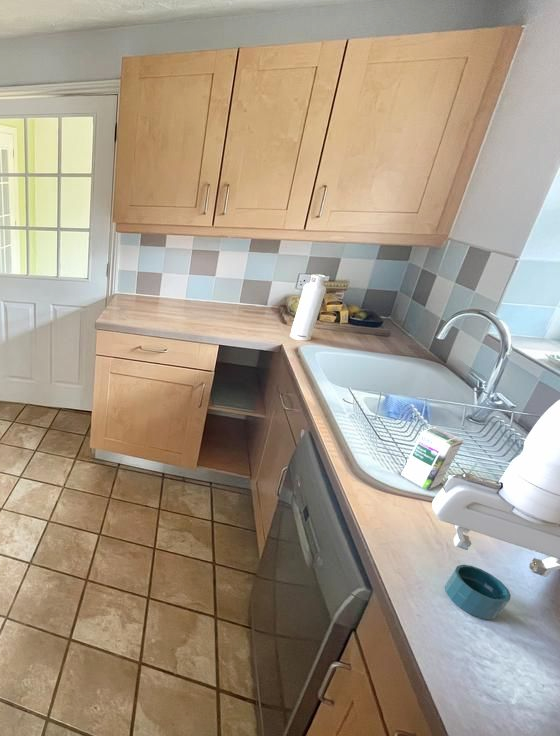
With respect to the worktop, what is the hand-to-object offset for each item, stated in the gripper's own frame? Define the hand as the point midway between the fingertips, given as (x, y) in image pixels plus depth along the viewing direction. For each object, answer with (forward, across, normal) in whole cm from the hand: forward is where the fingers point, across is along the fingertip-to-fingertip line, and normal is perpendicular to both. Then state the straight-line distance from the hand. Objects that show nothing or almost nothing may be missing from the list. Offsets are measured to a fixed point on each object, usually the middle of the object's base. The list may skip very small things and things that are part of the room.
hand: (497, 558), depth 68 cm
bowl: (+11, 0, 0) cm, 11 cm away
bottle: (+11, -29, +125) cm, 129 cm away
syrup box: (+11, -2, +33) cm, 35 cm away
